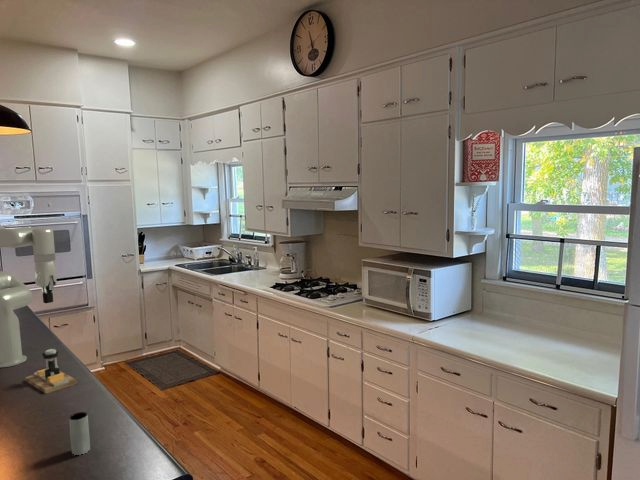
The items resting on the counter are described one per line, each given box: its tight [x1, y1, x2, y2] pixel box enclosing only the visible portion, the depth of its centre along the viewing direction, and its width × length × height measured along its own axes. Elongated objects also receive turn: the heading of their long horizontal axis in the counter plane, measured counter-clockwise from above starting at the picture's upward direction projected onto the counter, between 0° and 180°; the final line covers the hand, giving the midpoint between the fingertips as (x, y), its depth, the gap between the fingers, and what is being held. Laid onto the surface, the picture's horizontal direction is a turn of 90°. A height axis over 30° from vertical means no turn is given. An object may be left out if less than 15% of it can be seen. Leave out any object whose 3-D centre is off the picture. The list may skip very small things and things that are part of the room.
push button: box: [40, 348, 60, 378], centre depth 177 cm, size 7×5×10 cm
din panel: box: [24, 370, 78, 394], centre depth 178 cm, size 19×11×2 cm, turn 51°
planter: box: [68, 411, 91, 456], centre depth 129 cm, size 4×4×10 cm
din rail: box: [33, 371, 69, 387], centre depth 178 cm, size 19×5×1 cm, turn 51°
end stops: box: [36, 367, 64, 382], centre depth 178 cm, size 12×5×2 cm, turn 51°
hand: (48, 302), depth 192 cm, fingers closed
